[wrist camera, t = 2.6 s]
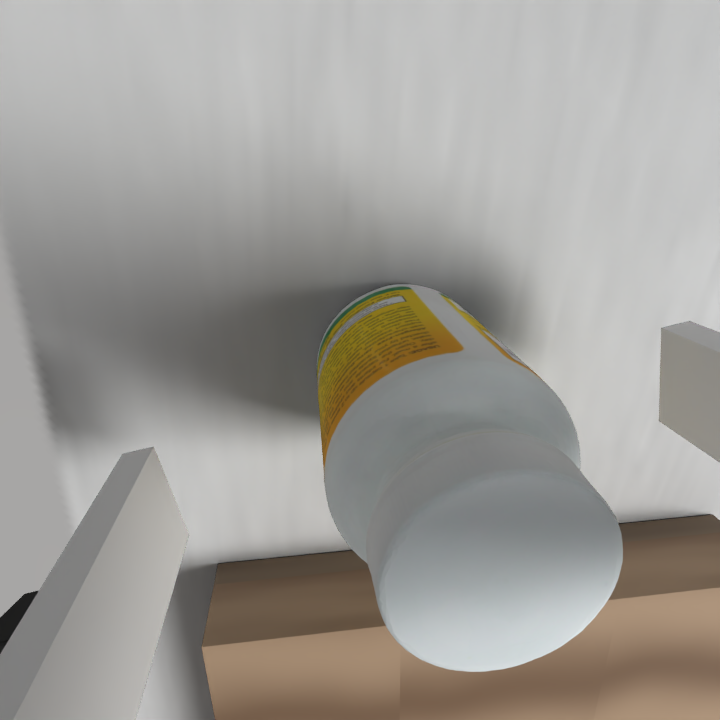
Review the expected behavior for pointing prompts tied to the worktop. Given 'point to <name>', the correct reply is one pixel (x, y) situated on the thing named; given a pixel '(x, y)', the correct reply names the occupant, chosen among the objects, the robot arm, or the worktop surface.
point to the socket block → (461, 688)
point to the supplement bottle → (459, 484)
